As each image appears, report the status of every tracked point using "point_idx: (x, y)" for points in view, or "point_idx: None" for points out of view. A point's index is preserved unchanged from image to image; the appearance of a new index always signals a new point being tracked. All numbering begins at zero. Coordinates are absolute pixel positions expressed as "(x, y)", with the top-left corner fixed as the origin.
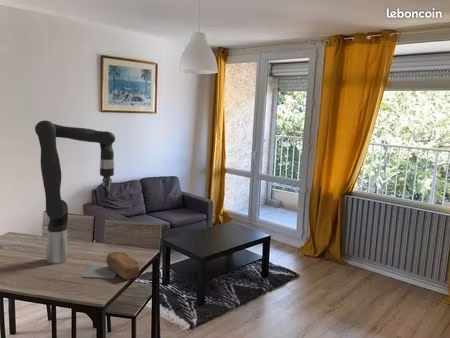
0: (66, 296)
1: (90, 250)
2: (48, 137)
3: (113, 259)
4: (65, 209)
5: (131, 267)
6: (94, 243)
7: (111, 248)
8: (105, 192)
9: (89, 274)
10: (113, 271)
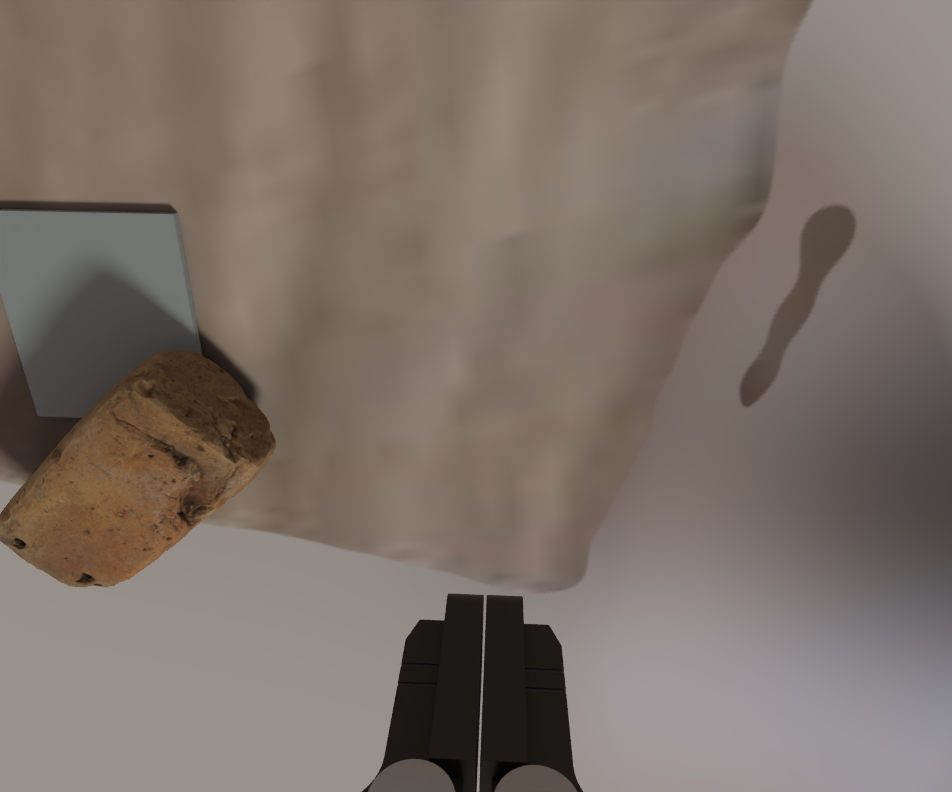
0: None
1: (550, 90)
2: None
3: (65, 441)
4: None
5: (21, 556)
6: (759, 70)
7: (610, 275)
8: (405, 749)
9: (25, 248)
10: None
